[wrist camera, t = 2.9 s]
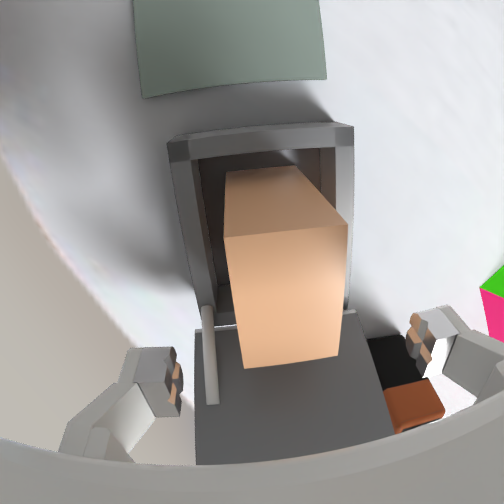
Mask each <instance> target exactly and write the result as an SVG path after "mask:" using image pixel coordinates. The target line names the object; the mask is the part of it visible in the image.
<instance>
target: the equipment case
mask: <svg viewBox="0 0 504 504" xmlns="http://www.w3.org/2000/svg"><path fill="white" fill-rule="evenodd" d="M303 148H320V176H321V194H322V195H323V196H324V197H325V198H326V200H327V201H328V202H329V203H330V204H331V205H332V206H333V208H334V209H335V210H336V211H337V212H338V213H339V214H340V216H341V217H342V218H343V219H344V220H345V221H346V223H347V224H348V240H347V260H346V275H345V289H344V301H343V310H346V309H347V306H348V295H349V284H350V271H351V257H352V239H353V216H354V127H353V126H350V125H346V124H342V123H339V122H305V123H287V124H272V125H260V126H249V127H239V128H230V129H222V130H214V131H206V132H199V133H192V134H185V135H179V136H176V137H174V138H173V139H172V140H170V141H169V142H168V143H167V149H168V155H169V161H170V167H171V173H172V179H173V185H174V191H175V196H176V202H177V207H178V213H179V218H180V223H181V229H182V234H183V239H184V244H185V249H186V253H187V258H188V263H189V268H190V272H191V277H192V281H193V286H194V290H195V295H196V299H197V303H198V308H199V312H200V316H201V320H202V329H195V354H194V404H195V450H196V465H224V464H240V463H253V462H263V461H272V460H280V459H287V458H294V457H301V456H307V455H313V454H318V453H323V452H328V451H333V450H338V449H343V448H347V447H351V446H355V445H359V444H363V443H367V442H371V441H375V440H378V439H382V438H385V437H389V436H392V435H395V432H394V429H393V425H392V421H391V418H390V414H389V411H388V407H387V404H386V400H385V397H384V394H383V390H382V387H381V384H380V381H379V377H378V374H377V371H376V368H375V365H374V362H373V359H372V356H371V353H370V350H369V347H368V344H367V341H366V338H365V335H364V332H363V329H362V326H361V323H360V320H359V318H358V315H357V312H356V310H355V309H353V310H347V311H343V312H342V323H341V332H340V341H339V350H338V356H332V357H327V358H321V359H315V360H308V361H302V362H295V363H288V364H281V365H273V366H265V367H256V368H247V369H244V365H243V359H242V353H241V347H240V341H239V335H238V329H237V325H236V326H226V327H216V328H214V326H224V325H234V324H237V323H236V316H235V310H234V304H233V297H232V291H231V284H227V285H218V284H217V278H216V273H215V267H214V261H213V255H212V249H211V243H210V237H209V231H208V225H207V218H206V212H205V206H204V199H203V193H202V186H201V179H200V172H199V165H198V159H203V158H210V157H218V156H226V155H235V154H244V153H254V152H265V151H276V150H289V149H303Z"/></svg>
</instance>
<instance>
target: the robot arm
mask: <svg viewBox="0 0 504 504" xmlns="http://www.w3.org/2000/svg"><path fill="white" fill-rule="evenodd" d="M410 324H411V326H412V327H411V328H410V329H409V330H408V331H407V334H406V339H405V340H406V348H407V351H408V353H409V355H410V357H412V358H414V359H416V360H417V361H416V367H417V368H418V370H419V372H420V374H421V375H422V377H423V378H424V377H428V376H431V375H435V374H438V373H442V374H444V375H445V376H447V377H448V378H450V379H451V380H452V381H454V382H455V383H457V384H458V385H460V386H461V387H463V388H464V389H466V390H467V391H468V392H470V393H471V394H473V395H474V396H476V397H477V399H476V401H475V402H474V404H473V405H472V406H470V407H468V408H466V409H463V410H461V411H459V412H456V413H454V414H451V415H449V416H446V417H444V418H441V419H439V420H436V421H434V422H431V423H428V424H425V425H423V426H420V427H417V428H414V429H411V430H408V431H405V432H402V433H399V434H395V435H392V436H389V437H385V438H382V439H378V440H375V441H371V442H367V443H363V444H359V445H355V446H351V447H347V448H343V449H338V450H333V451H328V452H323V453H318V454H313V455H307V456H301V457H294V458H287V459H280V460H272V461H263V462H253V463H240V464H224V465H156V464H140V463H135V462H134V460H133V459H132V458H131V457H130V456H129V454H128V453H129V452H130V451H131V450H132V448H133V447H134V446H135V445H136V443H137V442H138V440H140V438H141V437H142V436H143V434H144V433H145V432H146V431H147V429H148V428H149V427H150V426H151V424H152V423H153V422H154V420H155V419H156V418H155V417H179V416H180V411H181V402H182V401H181V398H180V396H179V394H180V393H181V392H182V391H183V373H182V369H181V366H180V364H179V363H177V362H176V356H177V354H176V352H175V349H174V347H144V348H130V349H129V350H128V351H127V354H126V357H125V361H124V364H123V367H122V370H121V373H120V376H119V380H118V383H113V384H112V385H111V386H109V387H108V388H107V389H106V390H105V391H104V392H103V393H101V394H100V395H99V396H98V397H97V398H96V399H94V400H93V401H92V402H91V403H90V404H89V405H88V406H87V407H85V408H84V409H83V410H82V411H81V412H80V413H78V414H77V415H76V416H75V417H74V418H72V419H71V420H70V421H69V422H68V423H67V426H66V429H65V432H64V435H63V438H62V441H61V444H60V447H59V451H58V452H55V451H51V450H46V449H42V448H38V447H34V446H30V445H26V444H22V443H19V442H15V441H12V440H8V439H5V438H2V437H0V504H504V343H503V342H501V341H499V340H496V339H494V338H492V337H490V336H487V335H485V334H483V333H481V332H478V331H476V330H470V329H469V327H468V326H467V325H466V324H465V323H464V321H463V320H462V319H461V318H460V317H459V316H458V314H457V313H456V312H455V311H454V310H453V309H452V307H451V306H449V305H444V306H440V307H436V308H433V309H429V310H425V311H420V312H416V313H413V314H412V316H411V318H410Z"/></svg>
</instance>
